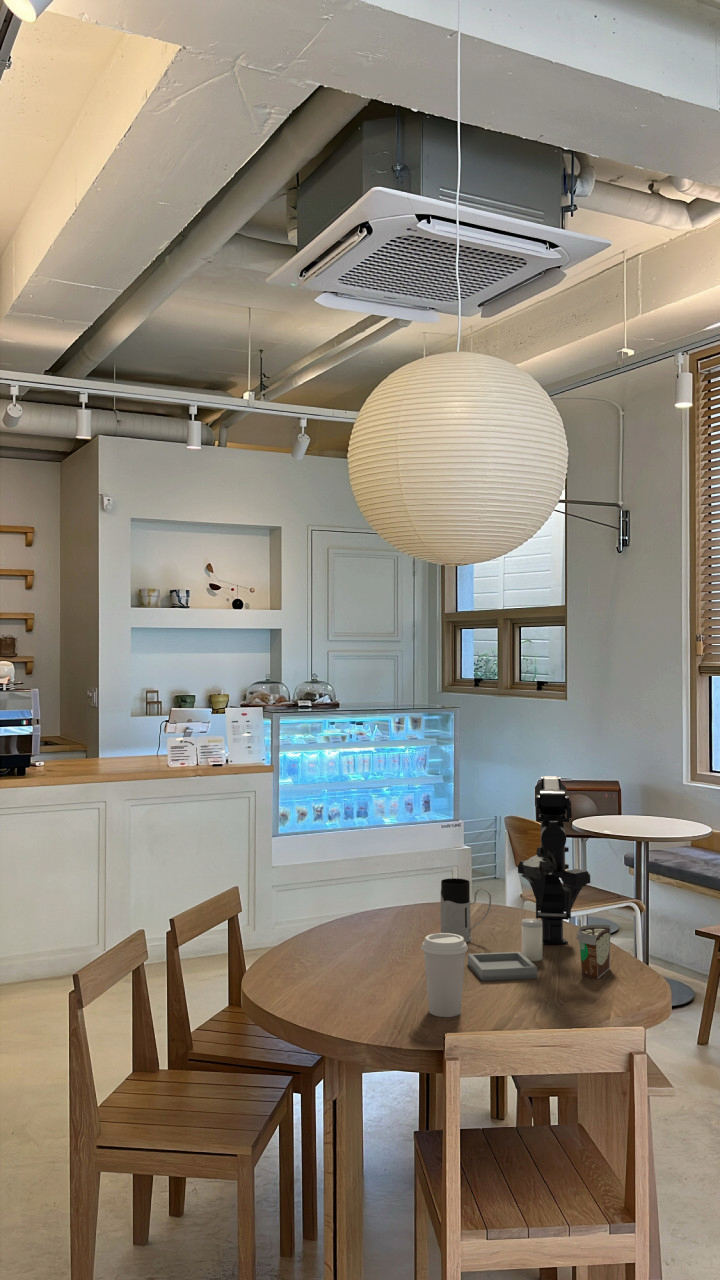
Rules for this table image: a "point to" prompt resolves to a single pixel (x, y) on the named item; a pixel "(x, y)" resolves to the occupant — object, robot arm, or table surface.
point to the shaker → (532, 939)
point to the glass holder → (457, 907)
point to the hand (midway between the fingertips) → (553, 908)
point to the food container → (594, 949)
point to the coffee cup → (444, 972)
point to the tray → (502, 966)
